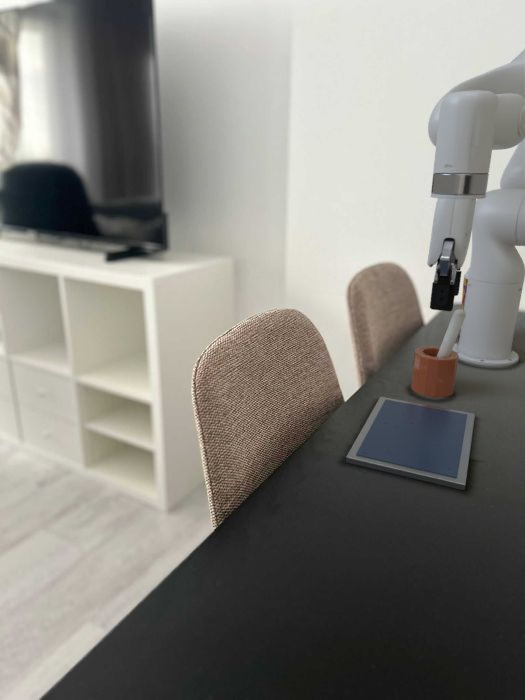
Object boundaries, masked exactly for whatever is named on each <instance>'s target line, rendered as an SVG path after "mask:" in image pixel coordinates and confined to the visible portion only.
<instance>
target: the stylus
mask: <svg viewBox="0 0 525 700" xmlns="http://www.w3.org/2000/svg"><path fill="white" fill-rule="evenodd" d="M465 316H466V313H465V311H464V310H462V309H461V308H457V309H455V310H454V311H453V313H452V315H451V318H450V321H449V324H448V327H447V329H446V332H445V334H444V337H443V339H442V342H441V344H440V346H439V347H440V349H439V352H438V355H437V357H449V356H450V354H451V351H452V349H453V346H454V344H456V342H457V339H458V336H459V335H460V329H461V326H462V324H463V321H464V319H465Z"/></svg>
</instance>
